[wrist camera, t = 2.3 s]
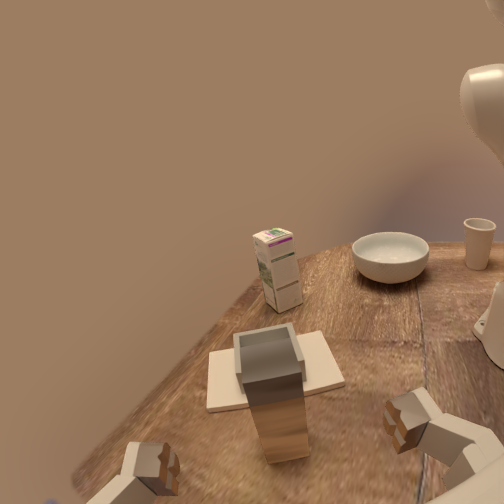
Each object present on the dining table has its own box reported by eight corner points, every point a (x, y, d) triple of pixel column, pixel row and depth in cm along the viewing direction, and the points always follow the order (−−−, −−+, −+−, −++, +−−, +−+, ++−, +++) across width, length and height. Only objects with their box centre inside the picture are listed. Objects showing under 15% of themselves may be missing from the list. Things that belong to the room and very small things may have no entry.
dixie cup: (457, 268, 53) (460, 226, 50) (464, 255, 58) (466, 216, 55) (489, 275, 47) (494, 231, 44) (492, 261, 52) (497, 221, 48)
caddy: (211, 356, 45) (202, 332, 43) (320, 335, 45) (318, 309, 44) (208, 412, 34) (197, 388, 32) (344, 385, 34) (345, 358, 32)
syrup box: (304, 303, 55) (295, 231, 50) (277, 314, 53) (265, 241, 48) (289, 292, 60) (279, 225, 55) (263, 302, 58) (251, 234, 54)
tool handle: (263, 433, 29) (239, 347, 25) (301, 426, 29) (290, 337, 25) (268, 464, 25) (242, 383, 20) (309, 455, 25) (301, 371, 20)
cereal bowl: (337, 281, 61) (335, 251, 58) (377, 254, 69) (376, 227, 67) (407, 304, 47) (409, 269, 45) (437, 269, 56) (439, 239, 53)
